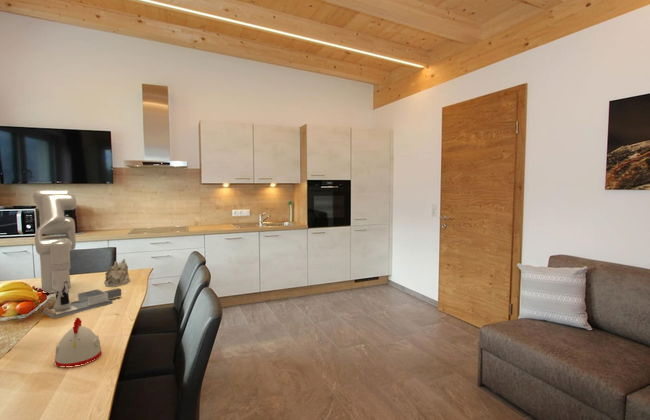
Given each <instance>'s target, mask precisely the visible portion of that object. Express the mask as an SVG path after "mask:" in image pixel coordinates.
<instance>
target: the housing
mask: <svg viewBox="0 0 650 420" xmlns="http://www.w3.org/2000/svg"><path fill="white" fill-rule="evenodd" d="M121 296H122V289H121V288H119V287H116V288H114V289H109V290H105V291H103V290H101V289H98V288H97V289H92V290H89V291H83V292H78V293H77V299H78V300H77V301H78V302H82V301H86V300H87V306H91V305H95V304H99V303H103V302H107V301H108V300H110V299H113V298H116V297H121Z"/></svg>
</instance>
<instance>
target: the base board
mask: <svg viewBox="0 0 650 420" xmlns="http://www.w3.org/2000/svg"><path fill="white" fill-rule="evenodd" d="M70 302H71V304H72V306H71V307H69V308H66V309H59V310H56V309H53V307H54V306H50V307H47V306H46V307H43V309H44V310H42V312H43V313H44V314H45V315H47V316H48V317H50V318H52V319H59V318H61V317H65V316H69V315H73V314H76V313H80V312H81V313H82V312H84V311H88V310H92V309H97V308H100V307H104V306H107V305H111V304H113V303H114V302H113V300H110V299H108V301H107V302H103V303H99V304H95V305H91V306H87V300H86V301H82V302H78V300H77V301H73V302H72V301H70Z"/></svg>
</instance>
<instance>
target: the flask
mask: <svg viewBox="0 0 650 420" xmlns="http://www.w3.org/2000/svg"><path fill="white" fill-rule="evenodd" d="M63 290H65V289H63ZM64 292H65V291H63V293H64ZM60 297H61V291H60V292H59V291H58V297H57V299H56V298H55V302H54V304H53V306H52V307H53V309H56V310H59V309H66V308H69V307H71V306H72V304H71V302H72V301H70V299H69V303H68V304H65V305H61V298H60Z"/></svg>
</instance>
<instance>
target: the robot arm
mask: <svg viewBox="0 0 650 420" xmlns="http://www.w3.org/2000/svg"><path fill="white" fill-rule="evenodd" d="M32 193H33V194H32V198H33V199H32V200H33V201H34V203H35V206H36V207H37V209H38V212H39V227H38V228H37V229H36V231H35V233H34V245H35V250H36V251H35V252H36V253H37V255H39V262H40V264H39V265H40V281H41V288H40V289H42V290H43V291H44V292H48V293H49V294H55V300H56V299H57V297H58V291H59V292H60V291H61V297H60V298H61V305H65V304H68V303H69V300H70V297H69V296H70V290H71V272H70V269H71V251H74V250H75V248H76V224H75V223H76V222H75V220H74V219H73V217H68V216H65V213H64V212H65V211H71V210H75V209H76V208H77V199H76V196H75V195H74V193H73V191H72V190H70V189H37V190H35V191H33V192H32ZM63 234H64V235H63ZM43 235H46V236H44V237H43ZM47 235H48V236H47ZM50 235H51V236H50ZM63 289H65V290H63ZM63 291H65V292H64V293H63Z"/></svg>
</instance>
